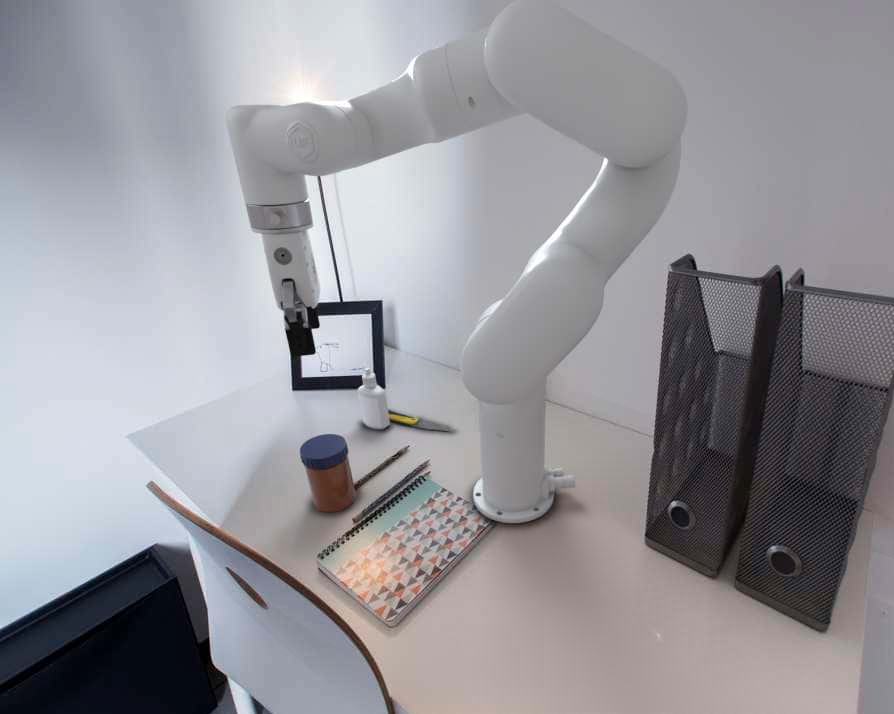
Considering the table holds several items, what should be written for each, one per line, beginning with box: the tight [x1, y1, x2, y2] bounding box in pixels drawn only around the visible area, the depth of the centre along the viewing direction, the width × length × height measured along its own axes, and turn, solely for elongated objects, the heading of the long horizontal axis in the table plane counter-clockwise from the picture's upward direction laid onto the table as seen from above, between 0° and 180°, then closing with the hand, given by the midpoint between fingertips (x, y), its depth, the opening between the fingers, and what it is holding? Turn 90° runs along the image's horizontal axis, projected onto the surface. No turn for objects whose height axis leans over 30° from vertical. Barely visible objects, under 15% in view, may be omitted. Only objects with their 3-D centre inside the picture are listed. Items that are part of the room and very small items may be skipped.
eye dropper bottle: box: [357, 367, 391, 430], centre depth 100 cm, size 4×6×12 cm
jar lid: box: [299, 433, 349, 469], centre depth 79 cm, size 7×7×2 cm
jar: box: [304, 455, 357, 513], centre depth 81 cm, size 6×6×10 cm
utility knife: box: [388, 409, 450, 432], centre depth 103 cm, size 16×1×3 cm
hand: (306, 341), depth 75 cm, fingers open, 9 cm apart
